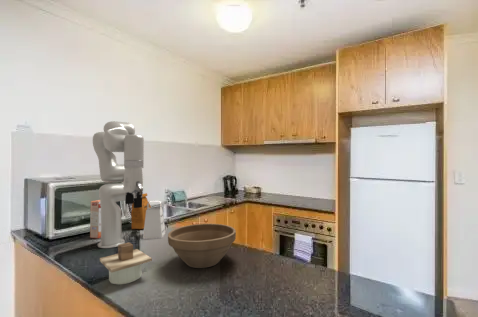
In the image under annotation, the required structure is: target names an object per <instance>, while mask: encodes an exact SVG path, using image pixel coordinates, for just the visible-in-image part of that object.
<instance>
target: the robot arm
mask: <svg viewBox="0 0 478 317" xmlns="http://www.w3.org/2000/svg"><path fill="white" fill-rule="evenodd" d="M135 133H136V129H135V126H134V125H133V123H131V122H126V121H113V120H112V121H108V122H106V123H105V124H104V125H103V131H100V132H99V131H98V132H96V133H94V134H93V135H92V146H93V150H94V152H95V154H96V156H97V158H98V167H99V177H100V179H101V181H102V182H104V183H106V184H103V185H101V186H100V187H99V189H98V195H99V196H98V197H99V200H100V204H101V238H100V242H98V243H97V247H98V248H100V249H113V248H116V247H117V248H118V245H119V244H124V243H126V242H125V239H123V238H122V209H121V207H120V205H118V204H117V203H119V202H125V205H132V204H133V203H134V208H140V207H142V194H144V193H143V191H144V187H143V186H144V181H143V180H144V179H143V178H144V176H143V174H144V173H143V169H144V152H145V151H144V146H145V145H144V144H145V142H144V136H142V135H141V134H135ZM114 153H123V163H122V164H118V163H117V156H116V155H115V154H114Z"/></svg>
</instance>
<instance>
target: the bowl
mask: <svg viewBox="0 0 478 317" xmlns="http://www.w3.org/2000/svg"><path fill="white" fill-rule="evenodd" d="M142 265H143V264H140V265H136V266H133V267H129V268H126V269H122V270H119V271H115V272H112V273H111V272H110V271H109V270H108V282H110V284H114V285H126V284H129V283H132V282H136V281H137V280H138V279H141V276H142V273H143V272H142V268H143V267H142Z"/></svg>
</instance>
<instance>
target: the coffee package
mask: <svg viewBox="0 0 478 317" xmlns="http://www.w3.org/2000/svg"><path fill="white" fill-rule="evenodd" d="M147 196H148V193H147V192H145V193H143V194H142V207H140V208H134V203H133V204H131V214H130V217H131V230H144V225H145V217H146V210H147V203H148V202H149V201H148V198H147ZM149 208H152V206H151V203H149Z"/></svg>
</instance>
